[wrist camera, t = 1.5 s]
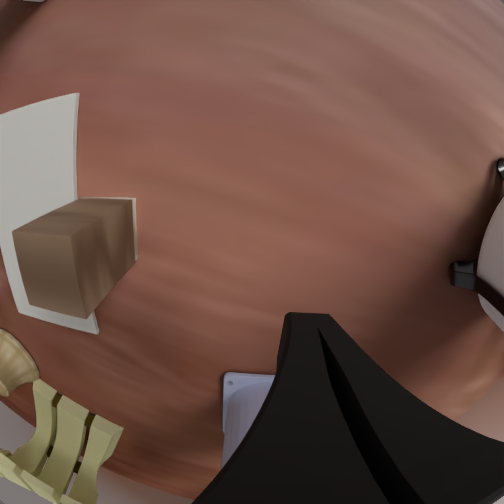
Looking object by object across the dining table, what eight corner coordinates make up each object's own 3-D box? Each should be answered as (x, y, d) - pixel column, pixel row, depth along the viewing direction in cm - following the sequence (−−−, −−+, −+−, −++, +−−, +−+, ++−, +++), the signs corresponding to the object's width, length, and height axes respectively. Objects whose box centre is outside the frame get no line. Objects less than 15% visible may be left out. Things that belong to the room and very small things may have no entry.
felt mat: (99, 331, 20) (97, 334, 20) (21, 310, 20) (18, 312, 19) (79, 93, 13) (76, 92, 13) (-5, 117, 13) (-9, 118, 13)
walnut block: (138, 258, 17) (86, 319, 11) (89, 253, 17) (29, 304, 11) (135, 197, 16) (70, 236, 9) (83, 196, 16) (11, 231, 9)
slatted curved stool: (3, 392, 28) (-39, 461, 11) (-12, 336, 22) (-79, 422, 6) (157, 479, 33) (139, 563, 16) (188, 453, 27) (168, 574, 11)
